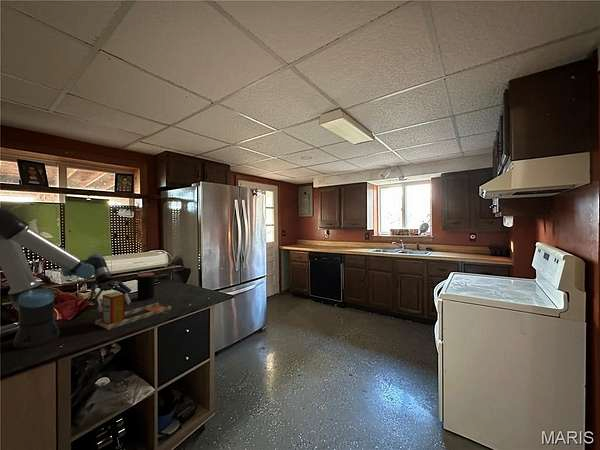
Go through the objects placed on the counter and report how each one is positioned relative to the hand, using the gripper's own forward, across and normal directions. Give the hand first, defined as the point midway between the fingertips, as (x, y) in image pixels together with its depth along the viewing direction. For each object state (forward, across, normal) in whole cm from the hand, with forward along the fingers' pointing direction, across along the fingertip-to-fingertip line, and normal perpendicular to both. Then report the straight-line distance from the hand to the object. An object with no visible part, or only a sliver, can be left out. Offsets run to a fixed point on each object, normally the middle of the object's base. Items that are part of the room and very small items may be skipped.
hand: (115, 306), depth 136 cm
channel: (+5, -11, -8) cm, 15 cm away
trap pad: (+5, -24, -8) cm, 26 cm away
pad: (+5, 0, -8) cm, 10 cm away
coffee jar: (-16, -34, -30) cm, 48 cm away
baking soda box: (+5, 0, -8) cm, 9 cm away
